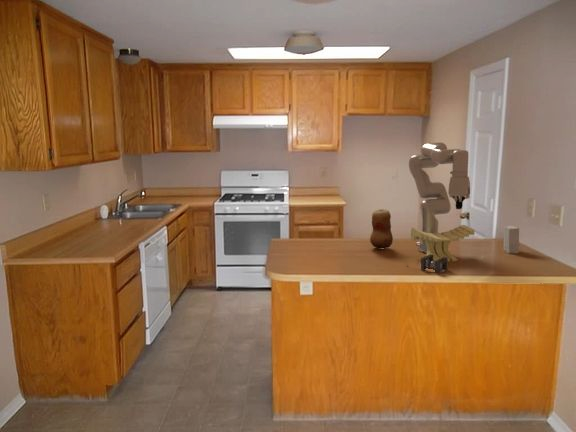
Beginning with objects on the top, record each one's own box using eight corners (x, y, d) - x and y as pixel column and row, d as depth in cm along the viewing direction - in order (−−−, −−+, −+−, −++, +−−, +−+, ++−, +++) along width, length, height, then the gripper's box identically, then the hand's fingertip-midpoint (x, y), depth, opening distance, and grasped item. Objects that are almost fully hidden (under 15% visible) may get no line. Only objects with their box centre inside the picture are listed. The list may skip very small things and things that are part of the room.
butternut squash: (368, 251, 281) (367, 211, 276) (372, 245, 293) (372, 207, 288) (390, 252, 276) (390, 212, 271) (394, 246, 288) (394, 208, 283)
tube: (421, 268, 241) (422, 260, 241) (426, 266, 244) (426, 258, 243) (439, 272, 234) (439, 264, 233) (443, 270, 237) (443, 262, 236)
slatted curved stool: (460, 253, 268) (461, 223, 265) (473, 260, 253) (474, 229, 249) (410, 256, 266) (411, 226, 263) (420, 264, 251) (420, 232, 247)
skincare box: (518, 253, 263) (520, 228, 260) (508, 253, 263) (509, 228, 260) (512, 249, 271) (514, 225, 268) (502, 249, 272) (503, 225, 269)
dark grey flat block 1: (420, 269, 239) (420, 258, 238) (429, 265, 245) (429, 254, 244) (424, 270, 238) (424, 258, 237) (433, 266, 244) (433, 254, 243)
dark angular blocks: (434, 272, 233) (434, 258, 232) (443, 268, 240) (443, 254, 238) (438, 273, 232) (438, 259, 231) (447, 269, 238) (447, 255, 237)
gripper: (443, 174, 240) (442, 208, 243) (470, 175, 229) (469, 211, 232) (450, 172, 245) (449, 206, 248) (477, 174, 234) (476, 209, 237)
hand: (458, 208), depth 240 cm, fingers closed
